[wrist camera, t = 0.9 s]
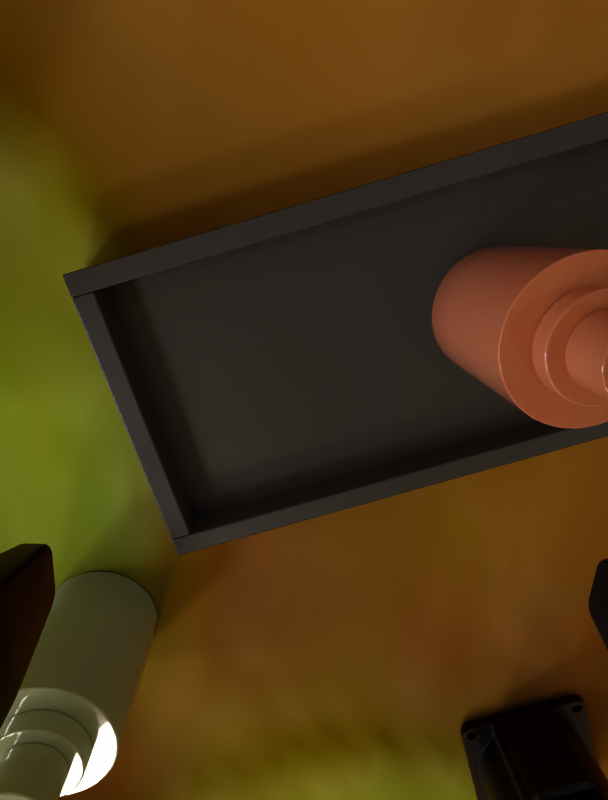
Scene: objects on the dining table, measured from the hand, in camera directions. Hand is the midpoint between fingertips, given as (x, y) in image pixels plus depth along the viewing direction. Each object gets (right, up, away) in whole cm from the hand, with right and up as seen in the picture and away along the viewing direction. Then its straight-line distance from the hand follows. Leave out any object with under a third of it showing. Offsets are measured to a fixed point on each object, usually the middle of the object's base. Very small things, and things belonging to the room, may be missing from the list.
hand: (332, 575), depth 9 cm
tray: (+7, +7, +13) cm, 16 cm away
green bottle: (-10, -7, +16) cm, 20 cm away
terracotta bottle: (+7, +6, +12) cm, 15 cm away
